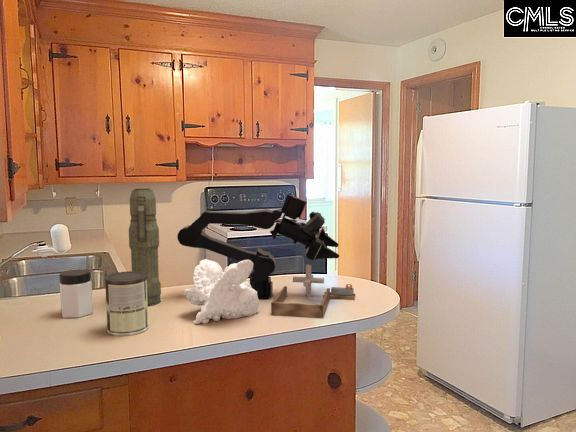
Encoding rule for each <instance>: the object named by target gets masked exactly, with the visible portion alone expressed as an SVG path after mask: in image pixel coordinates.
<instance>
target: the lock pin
mask: <svg viewBox="0 0 576 432" xmlns="http://www.w3.org/2000/svg"><path fill="white" fill-rule="evenodd" d="M330 292H331V295H336V296H354V293H355V292H354V287H353V284H352V283H351V284H349V283H347V284H345V287H338V286H337V287H335V286H331V288H330Z"/></svg>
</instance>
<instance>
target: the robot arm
mask: <svg viewBox="0 0 576 432" xmlns="http://www.w3.org/2000/svg"><path fill="white" fill-rule="evenodd" d="M307 203H308V201H306V200H304V199H302V198H299V197H297V196H294V195H291V194H288V193H287V194H286V196H285V199H284V201H283V204H282V207H281V208H277V209H275V210H271V209H268V208H265V209H258V210H253V211H252V210H251V211H245V212H243V211H218V210H217V211H213V210H205V211H204V212H202V213H201V214H200V216H199V217H198V218H197V219H195V220H194V221H193V222H192V223H191V224H190V225H185V226H184V227H183V228H181V229H180V230H179V231H178V233H177V236H176V237H177V241H178V243H179V244H180V245H182V246H184V247H188V248H195V249H196V248H197V249H205V250H207V251H210V252H213V253H216V254H217V255H218V254H219V255H221V256H224V257H227V258H230V259H232V260H235V261H238V262H240V261H243V260H251V261H252V262H253V264H254V265H253V269H252V271H251V273H250V277H249V283H250V285H251V287H252V289H254V290H255V291H257V296H258V300H259V299H262V300H268V299H270V297H271V296H272V295H273V290H274V289H273V286H274V285H273V284H274V283H273V281H272V276H270V275H271V274H273V273H274V271H275V269H276V259H275V257H274V255H272V254H271V251H265V250H263V249H261V248H259V247H257V249H256V251H251V250H248V249H245V248H243V247H239V246H237V245H234V244H232V243H228V242H226V241H223V240H221V239H219V238H218V239H217V238H215V237H212V236H210V235H209V234H208V233H206V232H205V231H204V229H206V227H207V226H209V224H212V225H214V224H215V225H218V224H219V225H246V226H250V227H253V228H257V229H262V230H269V229H270V230H269V233H270V234H271V236H272V239H273V240H275V239H276V238H277V235H279V236H282V237H284V238H286V239H289V240H291V241H292V243H293V244H294V245H296V244H299V245H302V246H304V249H305V257H306V259H307V260H310V261H316V260H323V259H339V257H340V254H339V253H338V252H336V251H335V250H332V249H330V248H329V247H332V248H338V247H339V246H340V244H339V243H338V242H337V241H335V239H333V238H332V237H330V236H329V235H328V234H327V233H326V231H325V227H324V226H323V225H324V224H325V222H326V218H325V217H324V216H323V215H322V213H320V212H318V211H317V212H315V211H311V212H310V213H309V216H308V217H309V219H308V221H306V223H305V222H300V223H299V222H296V220H297V219H301V217H302V215H303V212H304V209H305V207H306V206H307ZM282 215H283V216H282ZM279 219H281V220H280V221H278V220H279ZM291 219H292V220H291ZM275 222H276V223H275ZM273 226H274V227H273ZM272 227H273V229H271V228H272Z"/></svg>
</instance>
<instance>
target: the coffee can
mask: <svg viewBox="0 0 576 432" xmlns="http://www.w3.org/2000/svg"><path fill="white" fill-rule="evenodd" d="M104 284H105V286H104V287H105V288H104V289H105V305H106V306H105V307H106V308H105V309H106V324H107V328H106V329H107V331H106V332H107V334H109V335H111V336H114V337H115V336H116V337H118V336H119V337H120V336H121V337H125V336H126V337H127V336H133V335H137V334H141V333H143V332H145V331H147V330H148V329H149V328H150V325H149V306H148V302H147V274H146V273H144V272H138V271H132V270H131V271H117V272H114V273H110V274H107V275H106V276H104Z"/></svg>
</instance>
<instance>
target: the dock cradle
mask: <svg viewBox="0 0 576 432" xmlns="http://www.w3.org/2000/svg"><path fill="white" fill-rule="evenodd" d="M287 298H288V286H287V285H284V286H283V287H282V289H281V290H280V291H279V292H278V293H277V295H276V296H275V297H274V299H273V300H272V301H271V303H270V304H271V305H270V306H271V309H270V311H271V313H270V314H271V316H283V317H300V318H302V317H303V318H317V319H319V318H320V319H323V318H324V315H325V313H326V311H327V307H328V305H329V303H330V300H345V301H355V300H356V293H355V292H354V296H336V295H331V288H326V291H324V292H323V295H322V300H321V303H320V304H315V303H296V302H295V303H292V302H285V301H286V299H287Z"/></svg>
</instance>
